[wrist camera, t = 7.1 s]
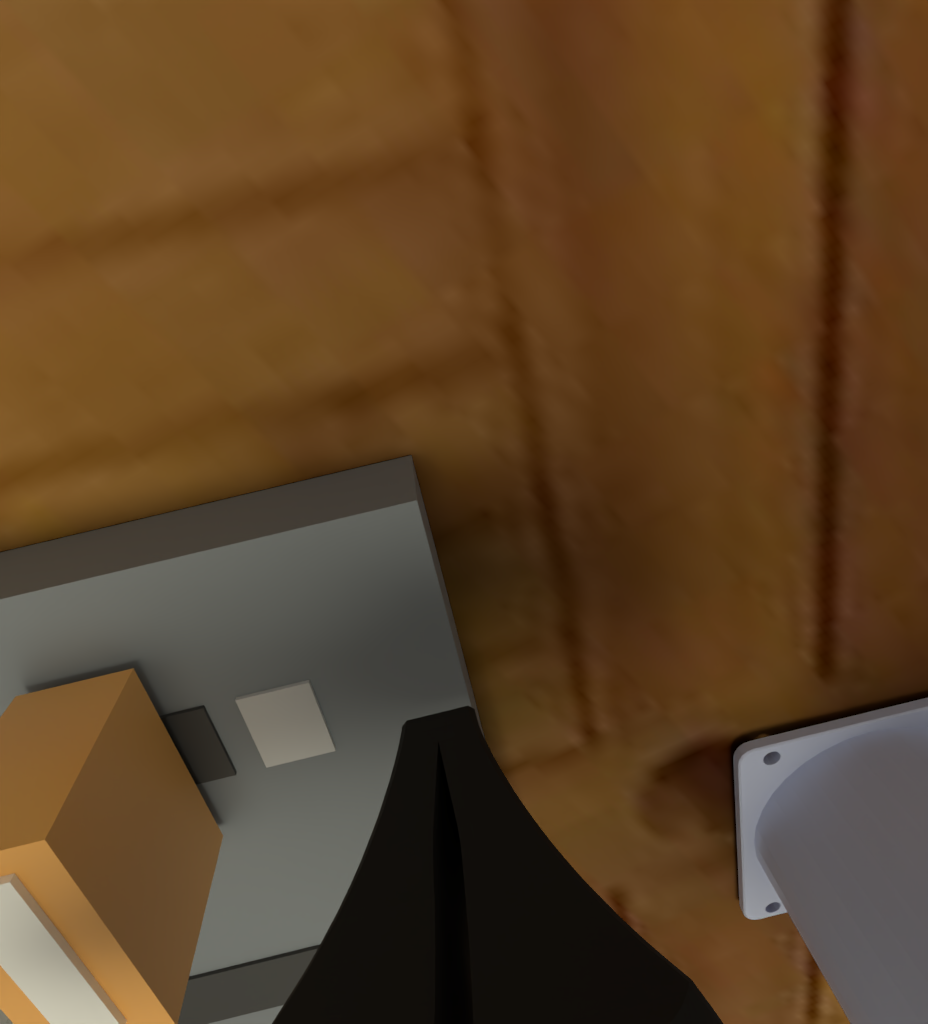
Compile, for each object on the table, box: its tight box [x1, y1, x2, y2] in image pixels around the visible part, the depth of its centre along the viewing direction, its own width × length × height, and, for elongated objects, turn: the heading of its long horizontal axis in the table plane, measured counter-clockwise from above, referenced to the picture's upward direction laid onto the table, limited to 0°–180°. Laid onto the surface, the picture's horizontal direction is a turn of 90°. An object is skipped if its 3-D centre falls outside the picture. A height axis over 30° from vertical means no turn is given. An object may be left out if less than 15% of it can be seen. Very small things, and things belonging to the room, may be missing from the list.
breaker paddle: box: [0, 668, 223, 1024], centre depth 13 cm, size 2×5×4 cm, turn 12°
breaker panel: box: [0, 455, 485, 1024], centre depth 16 cm, size 18×16×6 cm
